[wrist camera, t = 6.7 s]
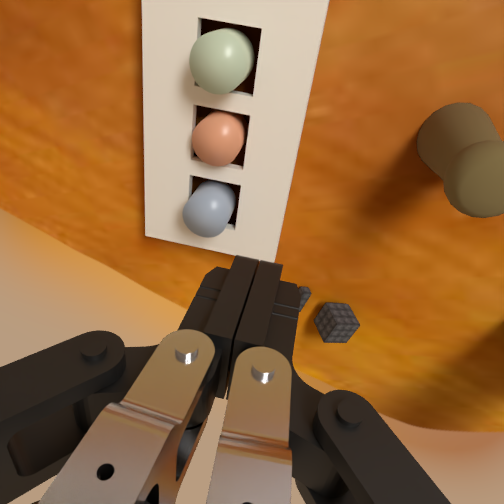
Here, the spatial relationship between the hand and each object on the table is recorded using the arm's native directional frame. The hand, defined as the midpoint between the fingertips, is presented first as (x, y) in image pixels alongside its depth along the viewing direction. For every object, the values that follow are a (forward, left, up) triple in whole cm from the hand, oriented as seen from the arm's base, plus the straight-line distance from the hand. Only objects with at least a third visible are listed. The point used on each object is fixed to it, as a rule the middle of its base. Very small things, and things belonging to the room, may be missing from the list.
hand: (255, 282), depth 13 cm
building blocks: (-6, +22, -27) cm, 36 cm away
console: (+7, +4, -27) cm, 28 cm away
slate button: (+7, +11, -25) cm, 28 cm away
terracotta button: (+7, +4, -27) cm, 28 cm away
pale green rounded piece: (+7, -2, -25) cm, 26 cm away
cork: (-13, +1, -27) cm, 30 cm away
